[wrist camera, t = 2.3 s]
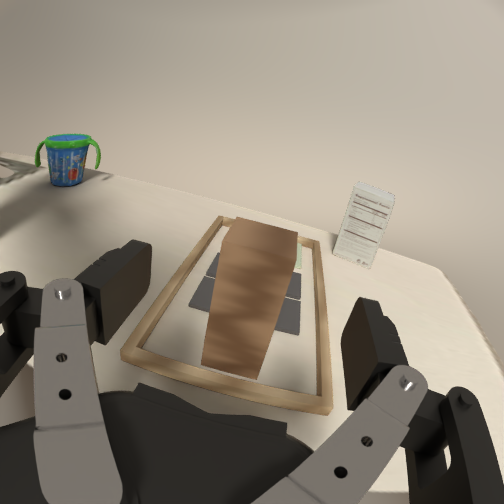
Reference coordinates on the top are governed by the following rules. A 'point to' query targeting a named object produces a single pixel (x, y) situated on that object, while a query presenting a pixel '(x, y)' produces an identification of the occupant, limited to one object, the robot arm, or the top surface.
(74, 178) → the snack cup
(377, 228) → the supplement box
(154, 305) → the tray
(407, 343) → the top surface
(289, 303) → the trap squares
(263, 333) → the walnut block
